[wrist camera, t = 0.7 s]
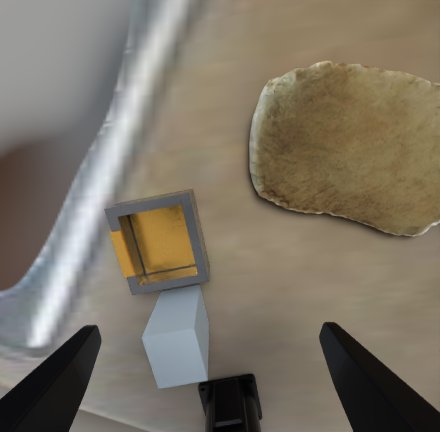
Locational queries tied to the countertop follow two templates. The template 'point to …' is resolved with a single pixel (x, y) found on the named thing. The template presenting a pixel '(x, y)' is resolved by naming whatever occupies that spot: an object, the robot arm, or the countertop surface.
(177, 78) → the countertop surface
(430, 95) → the stone tool
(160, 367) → the pale blue upright block
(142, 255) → the rack
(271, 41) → the countertop surface
